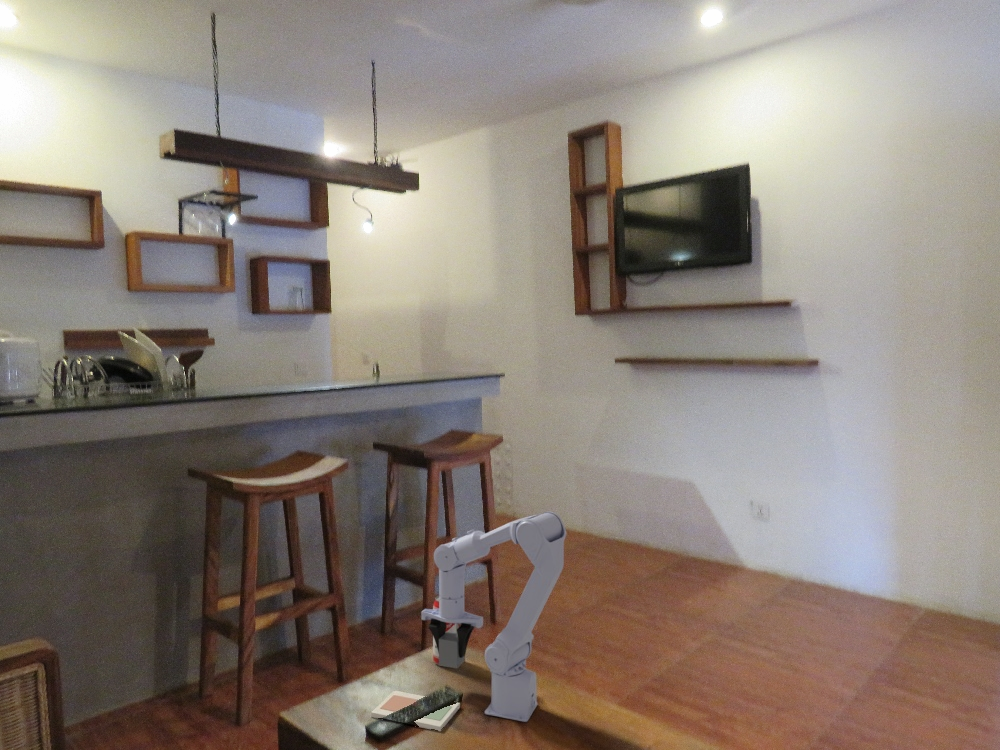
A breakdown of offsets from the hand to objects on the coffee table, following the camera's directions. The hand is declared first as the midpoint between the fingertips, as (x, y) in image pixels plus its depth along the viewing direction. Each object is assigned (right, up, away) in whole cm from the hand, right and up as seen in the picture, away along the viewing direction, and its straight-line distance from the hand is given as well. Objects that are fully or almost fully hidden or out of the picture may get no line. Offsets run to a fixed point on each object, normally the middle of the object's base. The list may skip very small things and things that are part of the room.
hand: (452, 654), depth 157 cm
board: (-7, -8, -10) cm, 15 cm away
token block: (0, -2, 0) cm, 2 cm away
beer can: (-3, -8, +14) cm, 16 cm away
